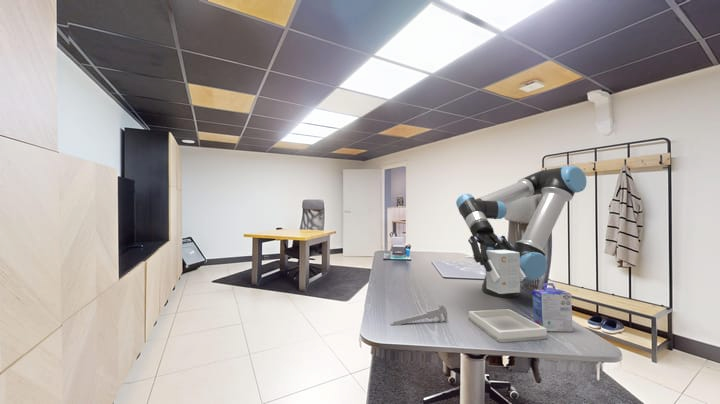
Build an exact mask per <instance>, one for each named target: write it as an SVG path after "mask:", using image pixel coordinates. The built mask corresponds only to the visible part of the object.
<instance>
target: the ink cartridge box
mask: <svg viewBox="0 0 720 404" xmlns="http://www.w3.org/2000/svg"><path fill="white" fill-rule="evenodd" d="M542 285H543V289H532V290H531V292H532V293H531V294H532V295H531V296H532V315H533V322H535V323H537V324H538V325H540V326H542V327H544V328H546V329H547V332H569V333H570V332H574V330H573V329H574V328H573V309H572V308H573V307H572V305H573V304H572V293H569V292H567V291H565V290H562V289H556V287H555V285H554V282H553V283H552V282H542ZM547 286H551V287H547Z"/></svg>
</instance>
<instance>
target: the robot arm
mask: <svg viewBox="0 0 720 404" xmlns="http://www.w3.org/2000/svg"><path fill="white" fill-rule="evenodd" d="M585 174H586V173H585V172H584V170H582V169H581V168H580V167H579V166H576V165H563V166H562V167H554V168H548V169H543V170H539V171H537V172H535V173H531V174H529V175H528V176H525V177H523V178H519V180H517V182H515V183H513V184H510V185H507V186H506V187H503V188H501V189H498V190H495V191H493V192H491V193H488V194H486V195H483V196H481V197H478V198H475V197H474V196H473V195H472V194H470V193H464V194H461V195H459V196H458V198H457V199H456V201H455V203H456V207H457V209H458V212H459V214H460V215H461V217H462V219H463V220H464V222H465V224H466V226H467V227H468V229H469V232H470V233H471V235H470V237H469V238H468V243H469V244H470V246H471V247H470V248H471V250H472V254H473V259H474V261H475V263H479V264H480V265H481V266H483V267H484V269H485V272H486V271H487V272H489V274H490V275H491V277H492V279H493V281H494V282H496V281H497V280H498V279H499V278H500V276H499V275H498V273H497V271H496V269H495V267H494V265H493V264H492V262H491V260H488V255H487V253H486V250H510V251H515V252H519V253H520V282H522V281H524V280H528V281H536V280H539V279H540V278H542V277H543V276H545V274H546V272H547V270H548V265H549V264H547V263H548V260H547V257H546V251H545V250H544V248H545V246H546V244H547V243H548V241H549V238H550V235H551V233H552V231H553V229H554V228H555V226H556V223H557V221H558V220H559V217H560V215H561V212H562V211H563V208H564V206H565V204H566V202H570V201H571V200H573V197H574V196H575V194H576V193H580V192H582V191H583V192H584V190H585V189H586V187H587V177H586V175H585ZM538 195H542V197H541V199H540V201H539V203H538V205H537V207H536V208H535V211H534V213H533V215H532V217H531V219H530V221H529V223H528V225H527V227H526V229H525V231H524V234H523V236H522V237H521V239H520V240H516V241H515V243H514V244H513V243H510V242H509V241H508V240H507V238H506V236H505V235H501V236H497V234H495V231H494V228H493V226H492V224H491V222H489V220H502V219H503V218H505V217H506V215H507V212H508V211H507V204H510V203H512V202H515V201H518V200H520V199H522V198H530V197H533V196H538ZM488 219H489V220H488ZM478 243H479V244H478ZM487 260H488V261H487ZM484 276H485V277H484V279H483V282H482V285H481V291H482V292H483V293H485V294H487V295H490V296H494V297H498V298H517V297H518V296H519V292H516V293H505V294H499V293H496V292H494V291H492V290H489V289H487V287H486V275H484Z"/></svg>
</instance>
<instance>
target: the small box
mask: <svg viewBox="0 0 720 404" xmlns="http://www.w3.org/2000/svg"><path fill="white" fill-rule="evenodd" d="M486 253H487V255H488V260H491V262H492V264H493V265H494V267H495V269H496V271H497V273H498V275H499V276H500V278H499V279H498V280H497V281H496V282H494V281H493V279H492V277H491V275H490V274H489V272H487V271H486V270H485V276H486V287H487V289H489V290H492V291H494V292H496V293H499V294H505V293H516V292H518V293H521V281H520V253H519V252H515V251H510V250H486ZM488 260H487V261H488Z"/></svg>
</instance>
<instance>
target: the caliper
mask: <svg viewBox="0 0 720 404" xmlns="http://www.w3.org/2000/svg"><path fill="white" fill-rule="evenodd" d="M442 316H443V318H442ZM435 318H437V319H438V320H439V322H440V323H443V321H444V322H445V323H447V322H448V311H447V308H446V306H444V304H443V303H442V304H441V305H440V304H439V305H438V307H437V308H434V309H433V308H432V309H428V310H427V311H426V312H422V313H418V314H415V315H410V316H406V317H403V318H399V319H395V320H393V322H390V323H389V324H390V326H401V325H404V324H408V323H412V322H415V321H419V320H423V319H428V320H432V319H435ZM443 319H444V320H443Z"/></svg>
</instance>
